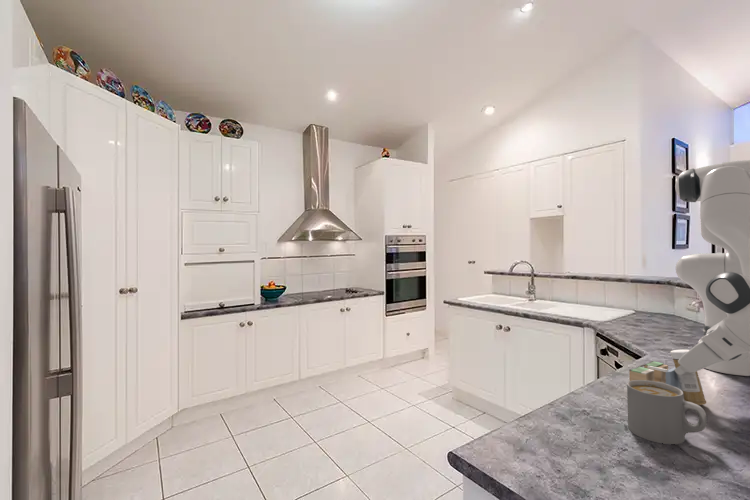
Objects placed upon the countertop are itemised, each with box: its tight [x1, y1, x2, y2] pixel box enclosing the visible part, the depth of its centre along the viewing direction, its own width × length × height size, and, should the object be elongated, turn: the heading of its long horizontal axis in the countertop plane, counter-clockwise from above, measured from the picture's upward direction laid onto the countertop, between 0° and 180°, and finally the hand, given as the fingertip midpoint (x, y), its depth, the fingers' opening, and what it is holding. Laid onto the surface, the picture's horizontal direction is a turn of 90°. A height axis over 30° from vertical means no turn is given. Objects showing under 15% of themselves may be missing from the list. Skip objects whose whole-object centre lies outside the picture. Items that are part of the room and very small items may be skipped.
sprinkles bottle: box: [670, 349, 707, 406], centre depth 95 cm, size 5×5×13 cm
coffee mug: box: [626, 380, 708, 445], centre depth 79 cm, size 13×10×10 cm
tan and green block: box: [628, 360, 669, 383], centre depth 102 cm, size 14×4×7 cm, turn 121°
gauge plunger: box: [647, 365, 681, 390], centre depth 99 cm, size 9×5×9 cm, turn 121°
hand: (681, 370), depth 96 cm, fingers closed on sprinkles bottle, 4 cm apart
